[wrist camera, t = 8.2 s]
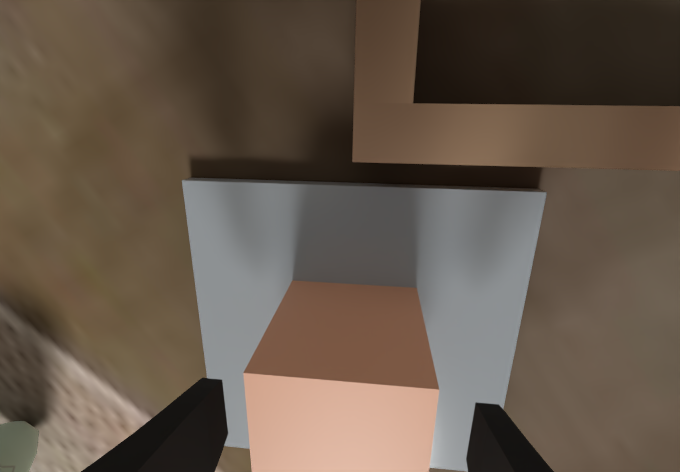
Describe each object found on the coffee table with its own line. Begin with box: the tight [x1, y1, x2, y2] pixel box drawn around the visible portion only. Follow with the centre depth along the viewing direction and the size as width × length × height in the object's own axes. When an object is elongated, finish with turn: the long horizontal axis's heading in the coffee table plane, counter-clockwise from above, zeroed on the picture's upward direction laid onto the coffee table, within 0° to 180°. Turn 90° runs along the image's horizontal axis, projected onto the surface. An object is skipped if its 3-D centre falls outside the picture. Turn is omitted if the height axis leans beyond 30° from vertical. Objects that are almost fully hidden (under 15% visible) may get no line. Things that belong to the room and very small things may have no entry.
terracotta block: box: [243, 280, 439, 472], centre depth 11 cm, size 4×4×5 cm
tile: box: [182, 178, 547, 471], centre depth 14 cm, size 12×12×1 cm
